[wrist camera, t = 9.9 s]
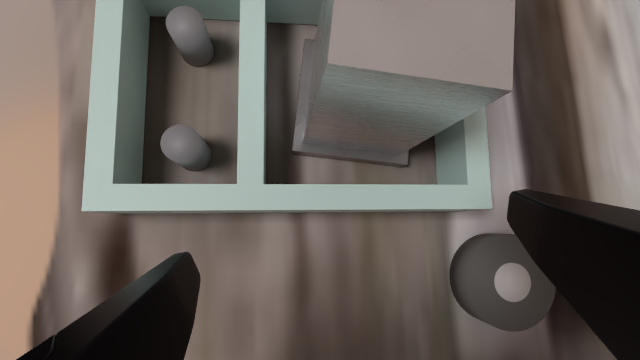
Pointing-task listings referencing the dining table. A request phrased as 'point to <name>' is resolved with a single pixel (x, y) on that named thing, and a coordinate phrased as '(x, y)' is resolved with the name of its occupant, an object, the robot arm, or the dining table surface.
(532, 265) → the loose wheel
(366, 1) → the gray rectangular block
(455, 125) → the frame
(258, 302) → the dining table surface
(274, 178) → the dining table surface
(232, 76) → the dining table surface
